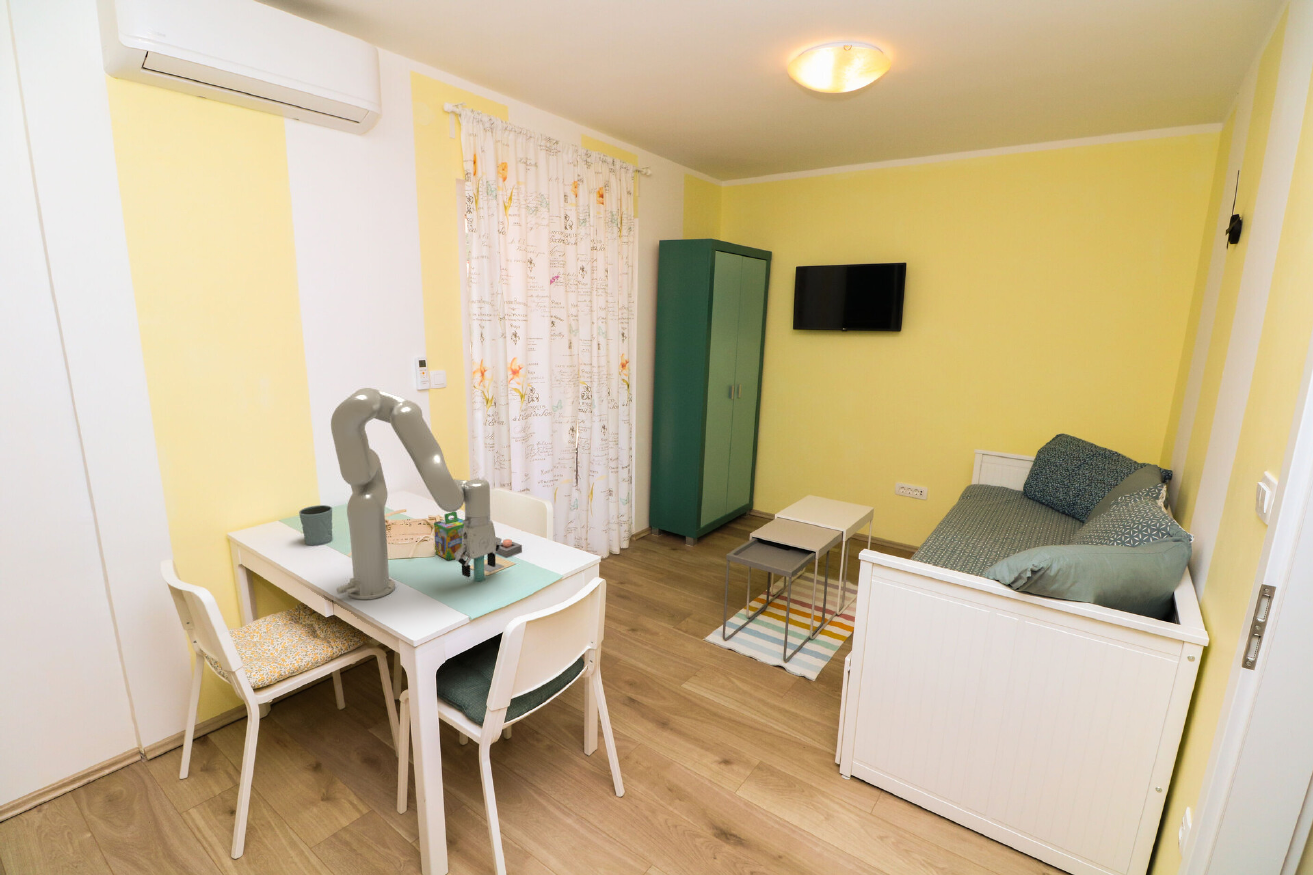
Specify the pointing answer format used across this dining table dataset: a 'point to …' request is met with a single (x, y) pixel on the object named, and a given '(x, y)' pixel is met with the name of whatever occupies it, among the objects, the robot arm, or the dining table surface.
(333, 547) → the dining table surface
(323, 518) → the teal grey cup
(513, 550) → the button collar
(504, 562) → the sheet
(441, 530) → the chalk box
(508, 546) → the button
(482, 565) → the teal cylinder
